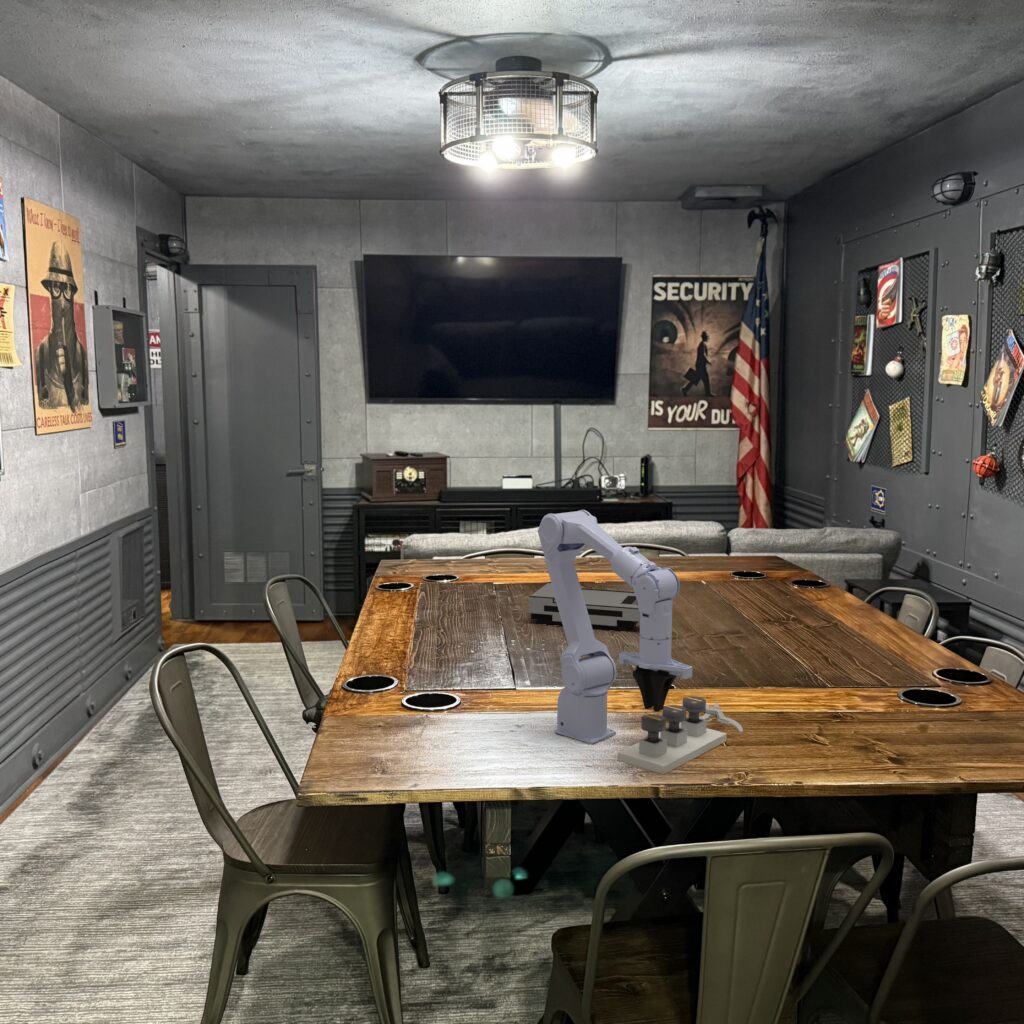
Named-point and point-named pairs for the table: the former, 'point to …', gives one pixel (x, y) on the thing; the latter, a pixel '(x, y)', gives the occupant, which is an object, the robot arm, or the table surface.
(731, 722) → the pliers
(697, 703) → the knob far
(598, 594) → the game console
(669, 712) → the knob middle
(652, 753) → the knob mount
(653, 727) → the knob near
